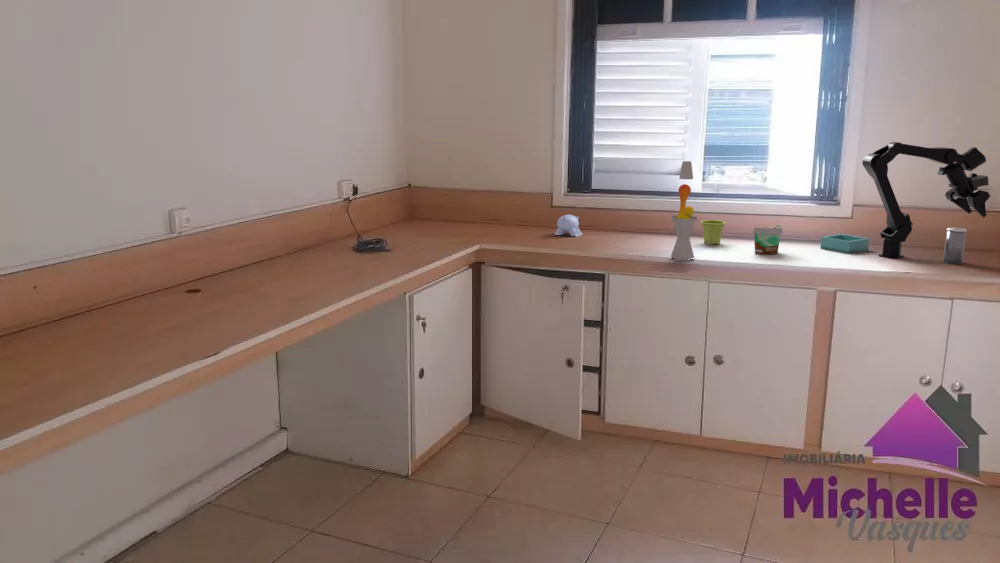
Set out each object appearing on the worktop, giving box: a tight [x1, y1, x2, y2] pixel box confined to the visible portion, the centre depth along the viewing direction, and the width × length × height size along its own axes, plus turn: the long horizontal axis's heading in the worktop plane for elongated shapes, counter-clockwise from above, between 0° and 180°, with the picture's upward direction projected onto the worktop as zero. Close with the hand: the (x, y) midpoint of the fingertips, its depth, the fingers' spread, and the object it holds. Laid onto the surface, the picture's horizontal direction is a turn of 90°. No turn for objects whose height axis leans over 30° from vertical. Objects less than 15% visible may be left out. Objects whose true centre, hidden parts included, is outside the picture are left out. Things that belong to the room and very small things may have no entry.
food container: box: [752, 224, 784, 256], centre depth 300 cm, size 12×6×10 cm, turn 117°
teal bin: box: [820, 233, 870, 255], centre depth 308 cm, size 12×12×4 cm
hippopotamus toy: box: [554, 214, 583, 238], centre depth 343 cm, size 11×15×10 cm
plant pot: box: [700, 219, 726, 245], centre depth 321 cm, size 9×9×9 cm
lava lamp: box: [670, 160, 698, 261], centre depth 290 cm, size 9×9×35 cm
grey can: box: [942, 227, 968, 265], centre depth 282 cm, size 6×6×12 cm
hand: (977, 214), depth 291 cm, fingers open, 9 cm apart
